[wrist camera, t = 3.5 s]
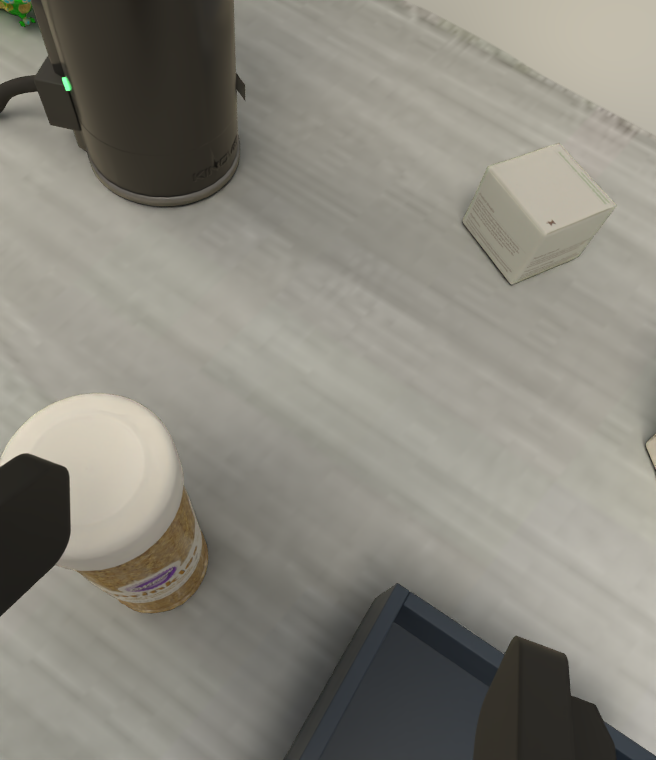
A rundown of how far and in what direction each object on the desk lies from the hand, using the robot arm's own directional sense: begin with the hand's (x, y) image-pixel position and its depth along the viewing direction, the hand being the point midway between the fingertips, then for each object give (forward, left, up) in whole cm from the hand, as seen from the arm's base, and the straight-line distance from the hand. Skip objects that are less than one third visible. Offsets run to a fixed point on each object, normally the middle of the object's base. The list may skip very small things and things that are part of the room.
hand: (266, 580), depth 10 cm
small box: (0, +28, -18) cm, 34 cm away
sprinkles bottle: (-6, 0, -18) cm, 19 cm away
